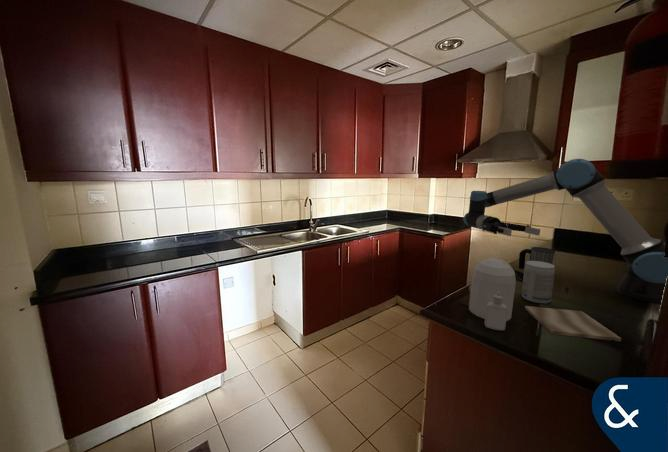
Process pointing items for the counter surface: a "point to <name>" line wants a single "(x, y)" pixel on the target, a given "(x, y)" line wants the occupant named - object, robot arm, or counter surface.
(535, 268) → the supplement tub
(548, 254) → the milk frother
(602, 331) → the board
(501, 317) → the eye dropper bottle
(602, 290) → the counter surface
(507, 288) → the container
